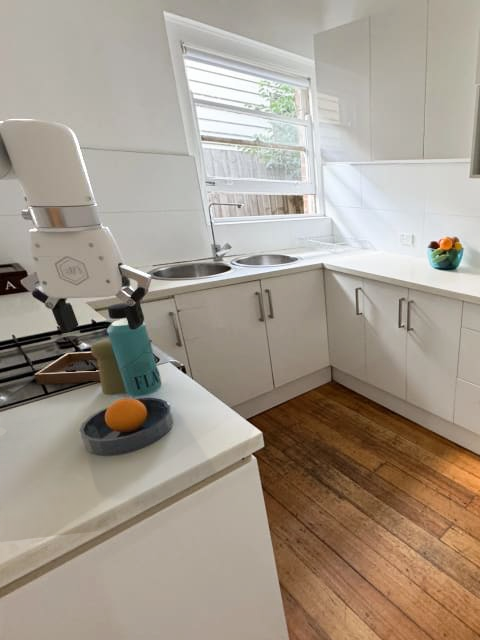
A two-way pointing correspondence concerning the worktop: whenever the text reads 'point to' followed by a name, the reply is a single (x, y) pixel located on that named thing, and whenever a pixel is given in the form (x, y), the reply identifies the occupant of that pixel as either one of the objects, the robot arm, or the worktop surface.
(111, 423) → the tangerine
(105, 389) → the cork
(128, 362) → the beverage bottle
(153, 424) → the dish
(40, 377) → the tray
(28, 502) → the worktop surface
